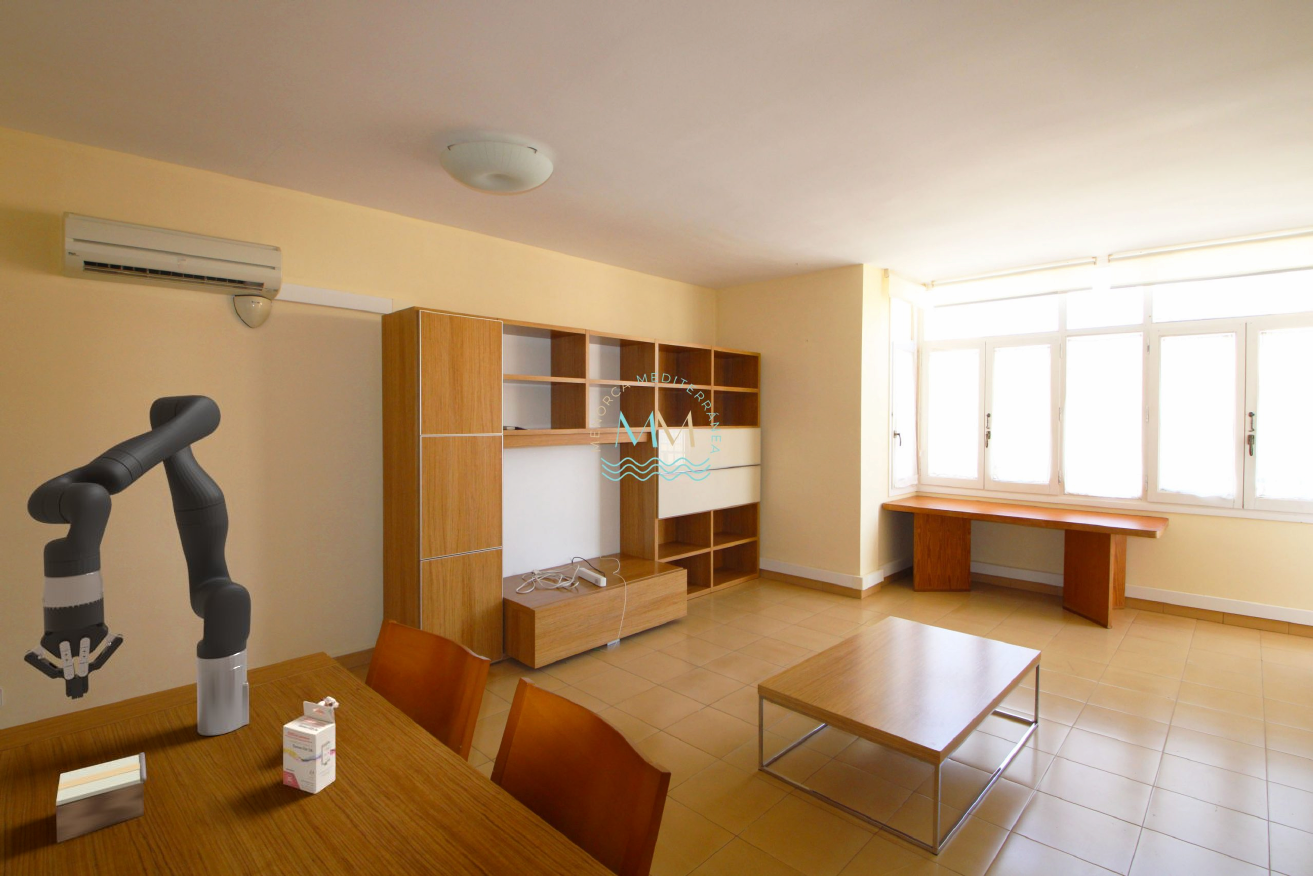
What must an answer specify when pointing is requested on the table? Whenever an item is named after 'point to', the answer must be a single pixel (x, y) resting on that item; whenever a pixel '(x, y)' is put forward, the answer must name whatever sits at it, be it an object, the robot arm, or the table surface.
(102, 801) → the box
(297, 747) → the ink cartridge box
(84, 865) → the table surface
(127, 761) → the lid
